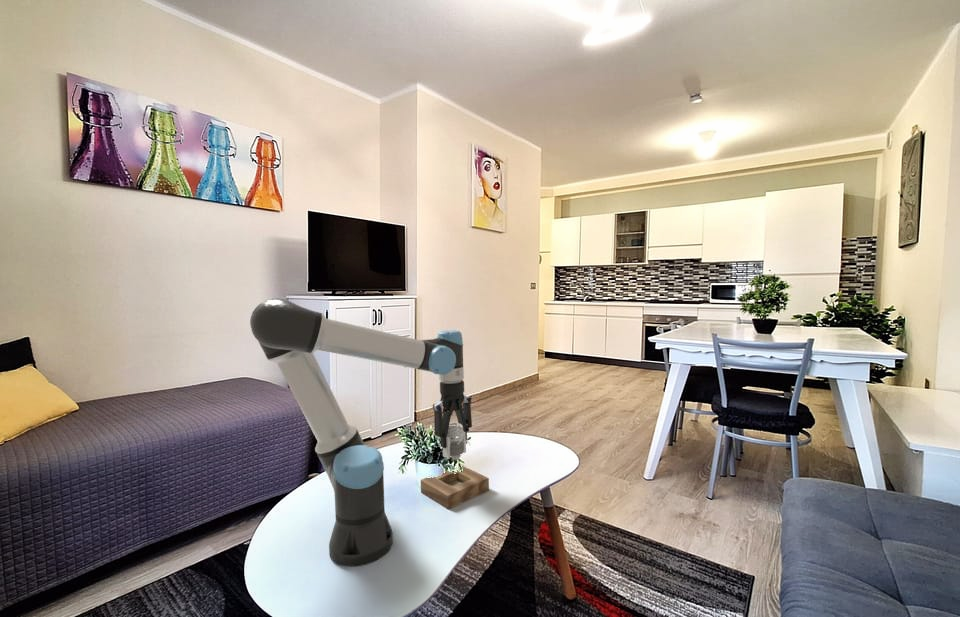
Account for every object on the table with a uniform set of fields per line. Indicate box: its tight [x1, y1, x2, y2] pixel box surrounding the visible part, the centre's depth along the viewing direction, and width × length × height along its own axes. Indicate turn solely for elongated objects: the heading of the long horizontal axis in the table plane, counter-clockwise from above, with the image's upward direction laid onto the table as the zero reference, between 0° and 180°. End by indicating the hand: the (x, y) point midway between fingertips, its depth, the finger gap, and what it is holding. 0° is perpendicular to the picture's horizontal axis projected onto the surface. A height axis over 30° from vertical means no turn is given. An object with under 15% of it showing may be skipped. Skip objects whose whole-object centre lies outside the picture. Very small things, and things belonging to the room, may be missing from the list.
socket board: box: [420, 465, 490, 510], centre depth 130 cm, size 16×14×4 cm
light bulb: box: [447, 421, 464, 461], centre depth 129 cm, size 6×6×12 cm
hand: (454, 454), depth 130 cm, fingers closed on light bulb, 6 cm apart
